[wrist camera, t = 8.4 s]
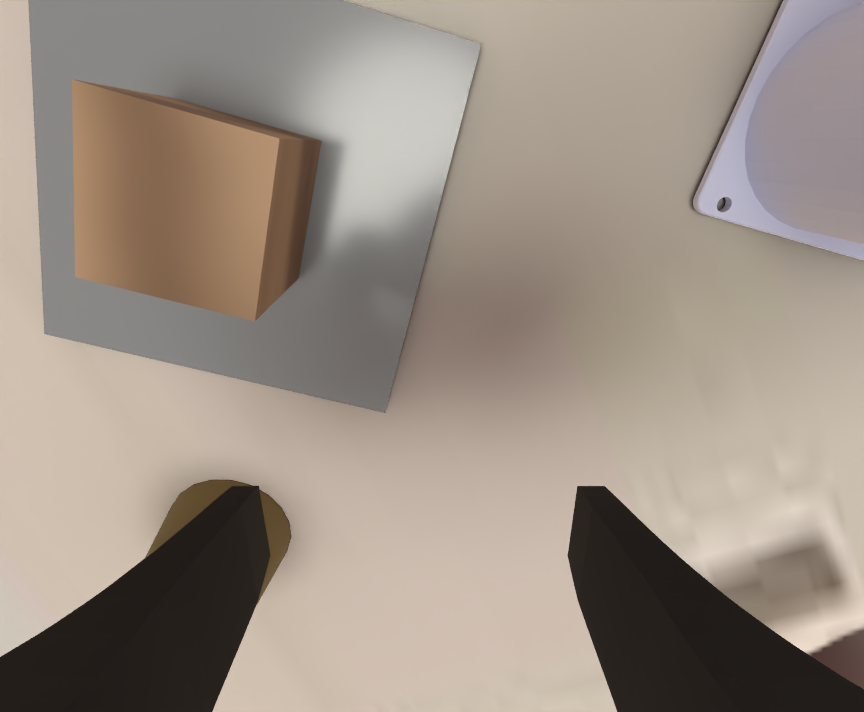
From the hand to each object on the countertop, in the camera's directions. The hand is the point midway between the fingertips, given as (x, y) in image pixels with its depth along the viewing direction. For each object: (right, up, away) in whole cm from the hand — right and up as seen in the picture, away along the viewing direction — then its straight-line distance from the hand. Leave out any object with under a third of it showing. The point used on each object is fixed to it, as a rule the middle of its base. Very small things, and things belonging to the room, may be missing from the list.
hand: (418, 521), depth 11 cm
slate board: (-7, +10, +7) cm, 14 cm away
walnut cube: (-7, +10, +6) cm, 13 cm away
